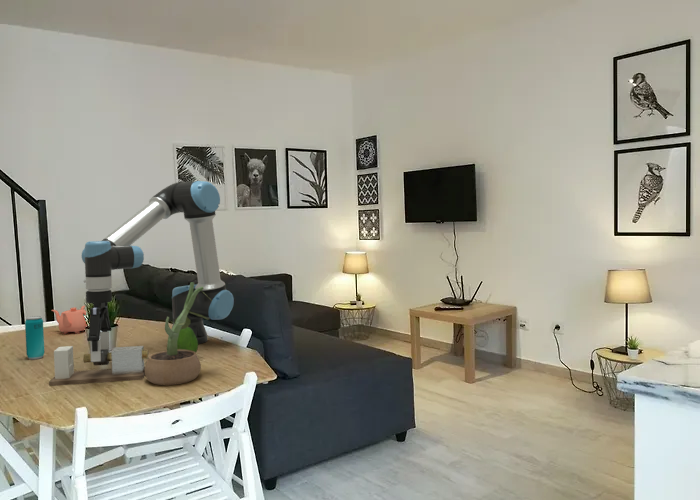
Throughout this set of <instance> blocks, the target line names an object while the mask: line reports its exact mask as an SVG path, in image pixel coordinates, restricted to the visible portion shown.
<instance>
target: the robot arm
mask: <svg viewBox="0 0 700 500" xmlns="http://www.w3.org/2000/svg"><path fill="white" fill-rule="evenodd" d="M220 204H221V196H220V193H219V191H218V189H217V187H216V186H215V185H214V184H213V183H212V182H209V181H207V180H206V181H201V180H195V181H179V182H174V183H172V184H170V185H168V186H166V187H164V188H163V189H161V190H160V191H158V192H157V193H156V194H155V195H153V196H152V197H150V199H149V200H148V203H147V204H146V205H145V206H144V207H142V208H141V209H140V210H138V211H137V212H136V213H135V214H134V215H132V216H131V217H130V218H129V219H127V220H126V221H124V222H123V223H122V224H121V225H119V226H118V227H117V228H116V229H114V230H113V231H112V232H111V233H110V234H108V235H107V236H106V237H104V238H103V239H102V240H90V241H86V243H85V245H84V248H83V249H82V252H81V260H82V263H83V264H84V268H85V269H84V270H85V271H84V272H85V273H84V274H85V279H84V280H83V283H85V289H86V291H85V302H86V303H87V304H93V305H92V306H93V307H90V309H89V312H90V313H89V314H90V319H89V323H90V326H89V327H88V328H89V329H88V337H87V342H89V343H90V353H91V362H90V363H93V362H99V361H101V349H109V350H110V332H111V331H112V329H113V328H112V327H111V321H110V315H109V306H108V304H109V303H111V302H113V293H112V292H113V291H112V290H111V289H112V288H113V287H112V286H113V283H112V281H113V280H112V278H113V277H112V271H114V270H126V269H131V270H132V269H135V268H140V267H141V266H143V263H144V259H145V256H144V255H145V254H144V252H143V250H142V248H141V247H140V246H138V245H133V244H134V243H135V242H137V241H138V240H139V239H140V238H142V236H144V235H145V234H146V233H147V232H148V231H150V230H151V229H152V228H153V227H154V226H156V225H157V224H158V223H160V221H162V220H164V219H165V220H166V219H169V217H171V216H172V215H175V214H179V213H183V216H184V220H185V221H187V222H188V223H189V230H190V237H191V242H192V249H193V256H194V263H195V269H196V275H197V276H196V277H197V283H196V284H194V289H193V292H194V291H195V290H196V289H197V288H199V287H202V286H203V289H204V290H201V291H200V292H198V294H197V295H196V298H195V300H194V303H193V305H192V307H191V309H190V310H189V311H191V312H194V313H197V314H200V315H203V316H205V317H207V318H208V319H209V320H213V321H215V320H219V321H220V320H224V319H225V318H227V317H228V316H229V315H230V313H231V311H232V310H233V307H234V303H235V301H234V299H235V297H234V295H233V293H232V292H231V291H230V290H227V288H226V283H225V281H224V280H222V279H221V273H220V265H219V258H218V251H217V245H216V244H217V243H216V238H215V237H216V236H215V231H214V230H215V229H214V223H213V219H214V218H215V217H216V214H217V213H216V211H217V210H218V208H219V207H220V206H219V205H220ZM189 288H190V284H189V285H183V286H177V287H174V288H173V289H172V293H171V294H172V296H171V307H172V308H171V309H172V322H174V323H172V327H173V326H174V324H175V319H176V318H177V317H179V315H180V314H181V313H182V311H183V309H184V305H185V302H186V298H187V296H188V293H189ZM203 292H204V293H205V294H206V295H207V296H208V297H209V298H210V299H211V300H212V301H211V300H210V299H209V298H208V297H207V296H206V295H205V294H204V293H203ZM187 317H188V318H189V319H190V325H189V326H188V327H190V328H191V329H192V330H193V332H194V334H195V336H196V338H197V341H198V345H200V344H204V343H206V342H208V339H209V338H208V333H207V331H206V327H205V325H204V320H203V319H204V318H202V317H200V316H197V315H194V314H191V313H188V315H187ZM172 327H171V328H172Z"/></svg>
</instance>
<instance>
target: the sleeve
mask: <svg viewBox="0 0 700 500" xmlns="http://www.w3.org/2000/svg"><path fill="white" fill-rule="evenodd" d="M144 347H145V346H144V345H136V346H135V345H134V346H118V347H116V346H115V347H113V348H112V350H111V351H110V352H112V361H111V369H112V375H119V374H133V373H143V371H144V367H145V359H142V350H145V348H144Z"/></svg>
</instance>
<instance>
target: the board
mask: <svg viewBox="0 0 700 500" xmlns="http://www.w3.org/2000/svg"><path fill="white" fill-rule="evenodd" d="M145 377H146V376H145V366H144V371H143V373H133V374H119V375H112V368H104V369H88V370H87V369H86V370H74V374H73V375H72V376H71V377H70V378H67V379H55V376H53V377H52V378H51V379H50V381H49V382H48V386H49V385H52V386H64V385H77V384H78V385H79V384H80V385H81V384H93V383H95V384H96V383H107V382H121V381H135V380H143V379H144V378H145Z"/></svg>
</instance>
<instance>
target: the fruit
mask: <svg viewBox="0 0 700 500" xmlns="http://www.w3.org/2000/svg"><path fill="white" fill-rule="evenodd" d="M198 348H199V344H198V341H197V338H196V336H195V334H194V332H193V330H192V329H191V328H190V327H187V328H184V329H180V332H179V336H178V340H177V350H179V349H181V350H191V351H194V352H196V353H197V351H198Z"/></svg>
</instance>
